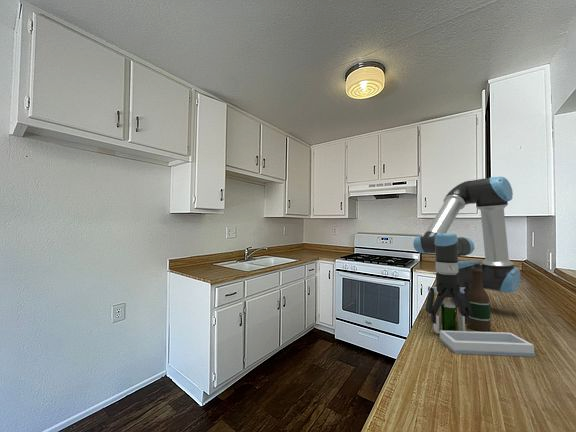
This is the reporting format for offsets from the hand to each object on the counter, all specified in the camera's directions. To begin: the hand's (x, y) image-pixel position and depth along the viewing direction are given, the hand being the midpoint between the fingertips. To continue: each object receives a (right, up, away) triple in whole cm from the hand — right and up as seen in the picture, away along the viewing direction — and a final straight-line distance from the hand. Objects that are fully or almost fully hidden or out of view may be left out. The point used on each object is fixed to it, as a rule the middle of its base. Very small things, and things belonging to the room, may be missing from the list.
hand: (449, 332), depth 95 cm
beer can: (0, -1, 0) cm, 1 cm away
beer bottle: (+16, -1, +5) cm, 17 cm away
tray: (+5, 0, -11) cm, 12 cm away
